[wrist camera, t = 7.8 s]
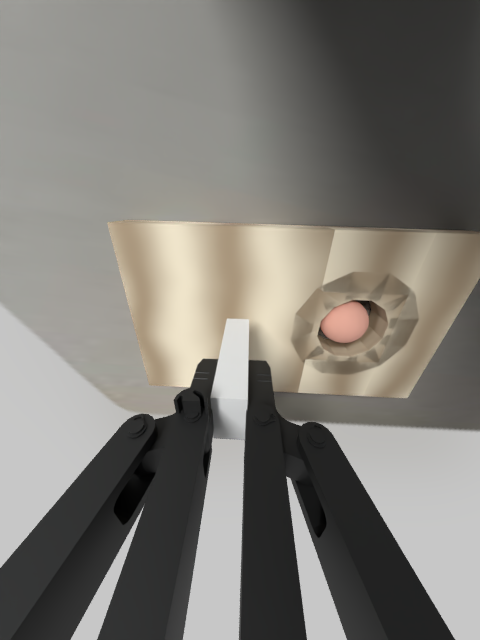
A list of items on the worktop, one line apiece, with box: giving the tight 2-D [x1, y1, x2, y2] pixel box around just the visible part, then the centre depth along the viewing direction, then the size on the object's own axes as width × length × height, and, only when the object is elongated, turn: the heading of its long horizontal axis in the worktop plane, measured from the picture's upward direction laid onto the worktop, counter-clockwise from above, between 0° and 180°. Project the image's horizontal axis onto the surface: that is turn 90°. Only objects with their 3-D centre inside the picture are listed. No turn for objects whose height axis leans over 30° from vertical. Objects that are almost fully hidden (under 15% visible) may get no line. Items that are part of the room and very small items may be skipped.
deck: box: [107, 220, 480, 398], centre depth 17 cm, size 24×14×2 cm, turn 89°
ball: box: [320, 300, 369, 343], centre depth 16 cm, size 4×4×4 cm
